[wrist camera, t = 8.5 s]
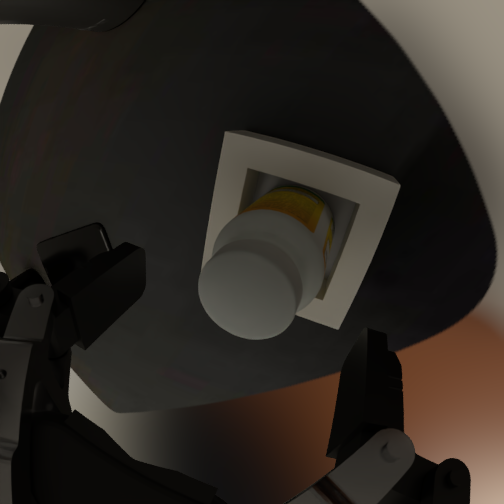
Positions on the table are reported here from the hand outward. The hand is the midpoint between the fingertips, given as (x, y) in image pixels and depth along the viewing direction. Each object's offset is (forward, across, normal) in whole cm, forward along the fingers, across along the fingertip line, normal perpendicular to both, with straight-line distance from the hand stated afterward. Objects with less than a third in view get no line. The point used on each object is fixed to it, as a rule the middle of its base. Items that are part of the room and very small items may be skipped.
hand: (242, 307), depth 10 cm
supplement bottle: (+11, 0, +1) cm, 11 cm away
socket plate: (+11, 0, +1) cm, 11 cm away
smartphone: (+12, +23, +13) cm, 29 cm away
